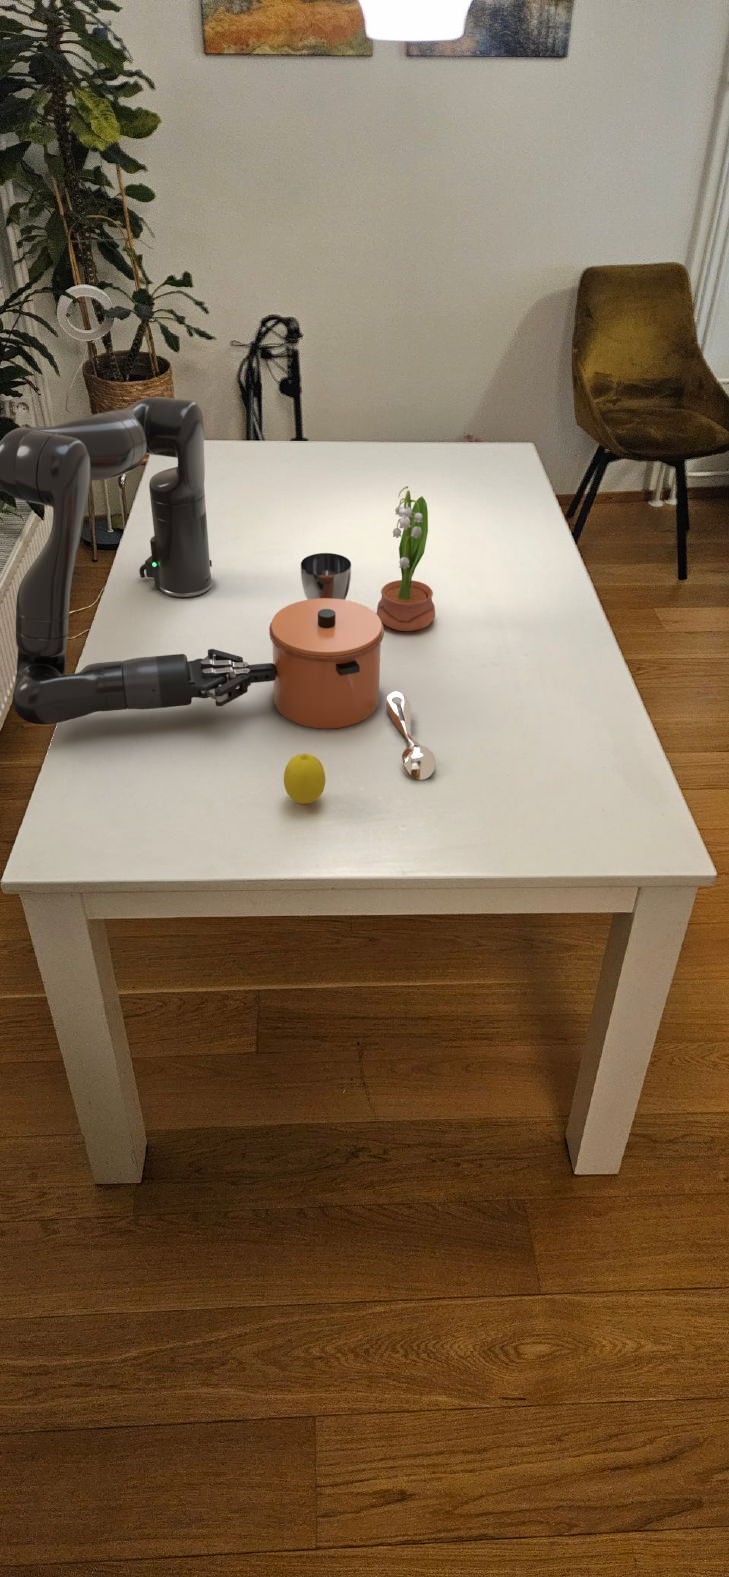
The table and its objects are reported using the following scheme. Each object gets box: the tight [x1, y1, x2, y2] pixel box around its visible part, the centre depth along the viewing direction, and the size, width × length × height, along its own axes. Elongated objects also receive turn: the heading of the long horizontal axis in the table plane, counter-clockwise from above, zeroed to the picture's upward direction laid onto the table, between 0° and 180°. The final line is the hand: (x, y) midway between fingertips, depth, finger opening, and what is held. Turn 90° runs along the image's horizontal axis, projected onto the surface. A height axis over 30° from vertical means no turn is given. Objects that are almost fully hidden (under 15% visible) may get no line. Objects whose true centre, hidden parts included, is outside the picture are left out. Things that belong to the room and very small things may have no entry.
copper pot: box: [268, 598, 385, 730], centre depth 164 cm, size 17×19×15 cm
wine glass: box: [300, 552, 352, 600], centre depth 176 cm, size 8×8×15 cm
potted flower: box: [376, 485, 436, 632], centre depth 180 cm, size 12×10×25 cm
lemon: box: [283, 753, 326, 805], centre depth 146 cm, size 6×6×8 cm
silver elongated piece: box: [385, 691, 437, 781], centre depth 159 cm, size 20×4×5 cm
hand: (275, 671), depth 162 cm, fingers closed
